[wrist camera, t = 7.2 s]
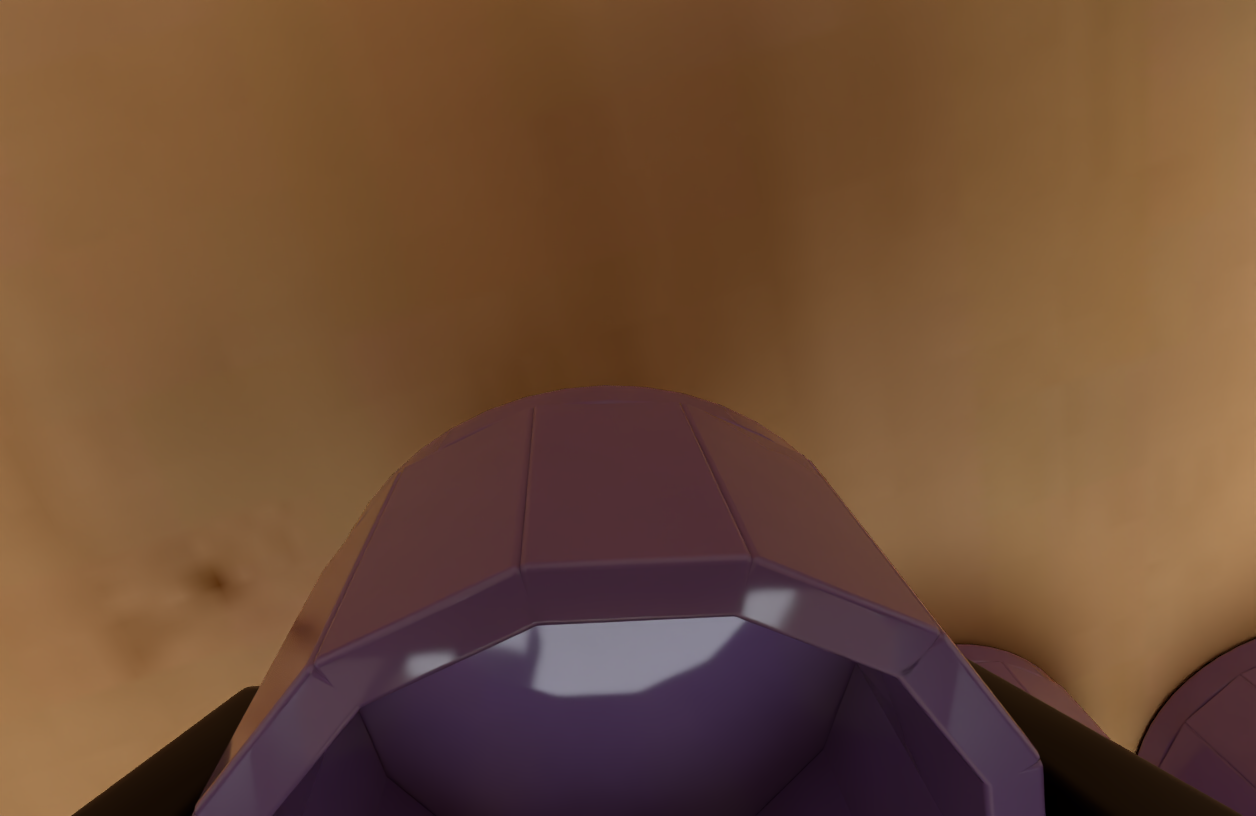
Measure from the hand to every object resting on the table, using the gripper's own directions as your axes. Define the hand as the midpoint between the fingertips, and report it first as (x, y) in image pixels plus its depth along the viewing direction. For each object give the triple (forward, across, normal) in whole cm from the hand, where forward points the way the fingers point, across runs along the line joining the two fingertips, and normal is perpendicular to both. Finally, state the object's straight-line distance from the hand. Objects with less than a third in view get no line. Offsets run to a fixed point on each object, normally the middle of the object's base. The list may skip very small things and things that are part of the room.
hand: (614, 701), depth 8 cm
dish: (+1, 0, 0) cm, 1 cm away
